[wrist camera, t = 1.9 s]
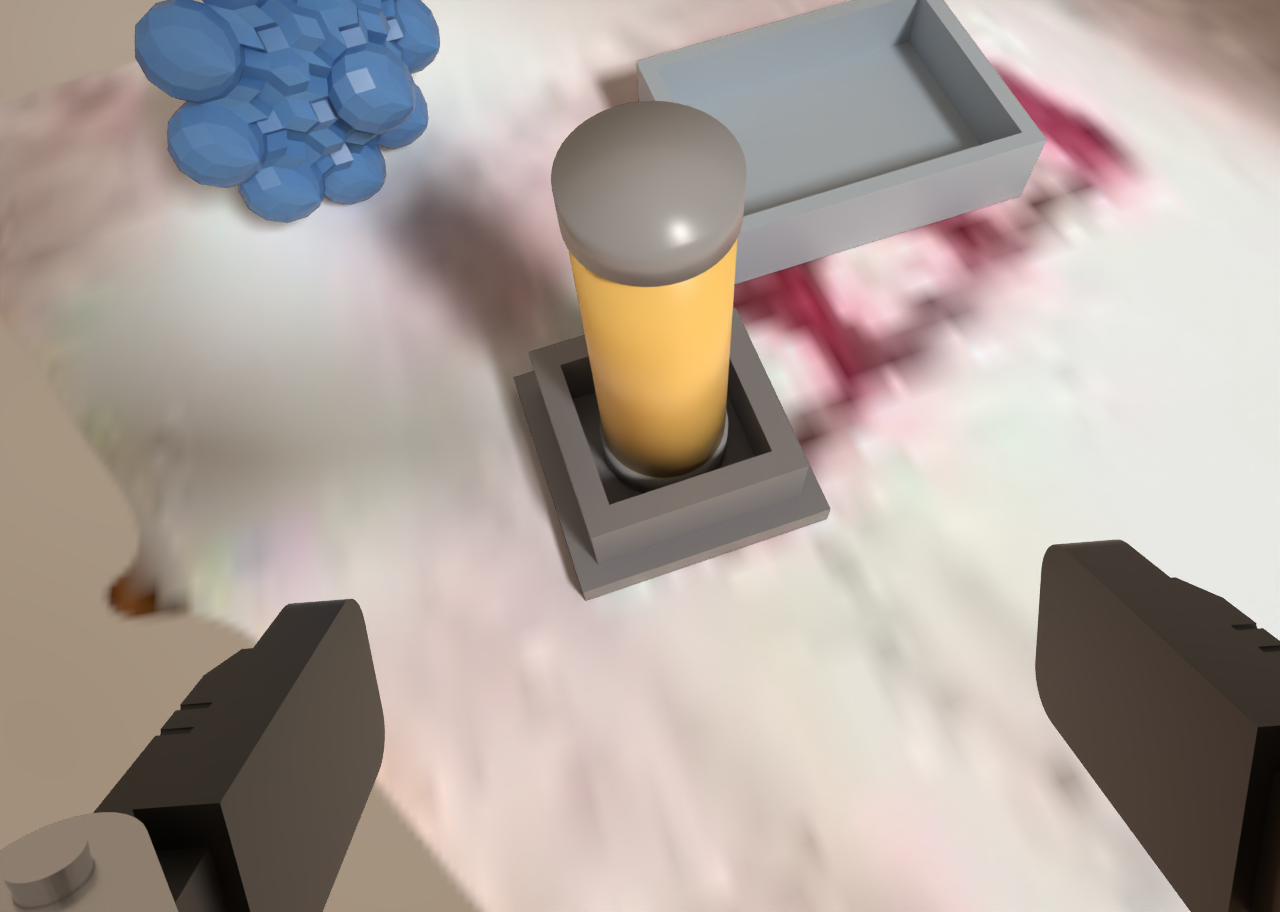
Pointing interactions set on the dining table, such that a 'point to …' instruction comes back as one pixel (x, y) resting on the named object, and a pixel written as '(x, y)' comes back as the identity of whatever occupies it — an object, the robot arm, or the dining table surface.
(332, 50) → the grapes
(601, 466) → the socket block
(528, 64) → the dining table surface
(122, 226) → the dining table surface
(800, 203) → the tray
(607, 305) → the cylinder
